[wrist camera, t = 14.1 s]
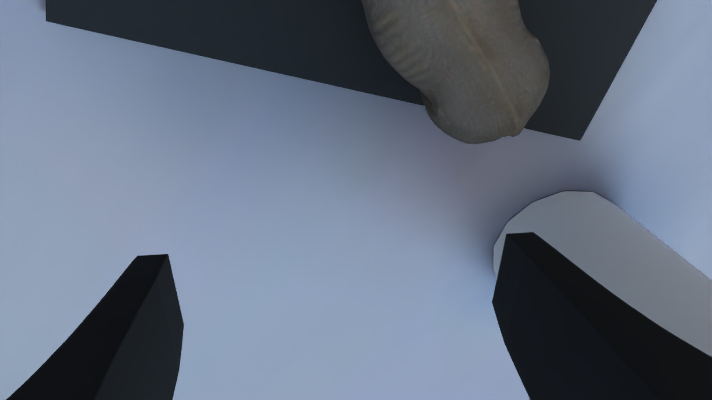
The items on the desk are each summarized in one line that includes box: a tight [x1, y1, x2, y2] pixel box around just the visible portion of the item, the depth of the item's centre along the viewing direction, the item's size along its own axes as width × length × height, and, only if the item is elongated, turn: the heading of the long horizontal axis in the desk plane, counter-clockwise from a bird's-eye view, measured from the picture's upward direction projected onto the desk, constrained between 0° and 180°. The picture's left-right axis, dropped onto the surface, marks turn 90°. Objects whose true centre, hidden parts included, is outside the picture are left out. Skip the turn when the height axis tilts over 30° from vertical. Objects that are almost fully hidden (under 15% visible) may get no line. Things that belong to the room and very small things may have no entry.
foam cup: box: [493, 191, 712, 400], centre depth 21 cm, size 10×9×13 cm
